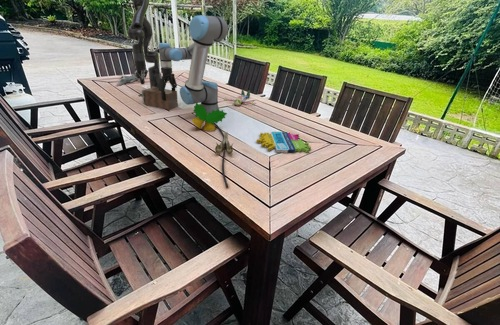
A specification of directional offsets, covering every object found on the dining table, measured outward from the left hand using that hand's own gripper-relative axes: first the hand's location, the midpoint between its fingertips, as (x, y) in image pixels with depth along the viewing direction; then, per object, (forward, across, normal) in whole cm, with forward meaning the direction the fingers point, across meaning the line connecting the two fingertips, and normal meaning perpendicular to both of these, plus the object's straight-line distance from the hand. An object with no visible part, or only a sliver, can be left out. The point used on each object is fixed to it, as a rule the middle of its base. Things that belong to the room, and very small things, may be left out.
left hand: (142, 84), depth 196 cm
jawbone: (+14, +46, +91) cm, 103 cm away
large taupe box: (+14, 0, +16) cm, 21 cm away
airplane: (+14, -46, -56) cm, 73 cm away
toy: (+14, -44, +63) cm, 78 cm away
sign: (+14, +21, +116) cm, 119 cm away
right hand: (+7, 0, +23) cm, 24 cm away
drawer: (+13, 0, +10) cm, 16 cm away
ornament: (+14, +22, +69) cm, 74 cm away
